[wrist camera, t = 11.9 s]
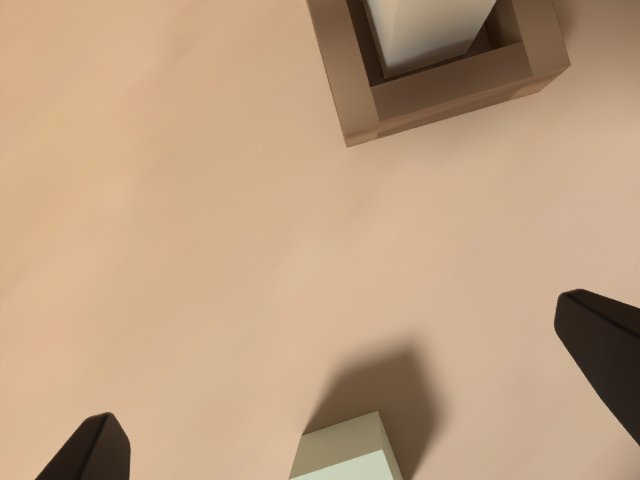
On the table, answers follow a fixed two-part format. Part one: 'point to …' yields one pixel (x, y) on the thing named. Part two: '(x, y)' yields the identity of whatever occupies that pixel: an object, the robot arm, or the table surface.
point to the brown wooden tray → (439, 70)
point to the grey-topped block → (423, 30)
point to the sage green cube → (347, 452)
